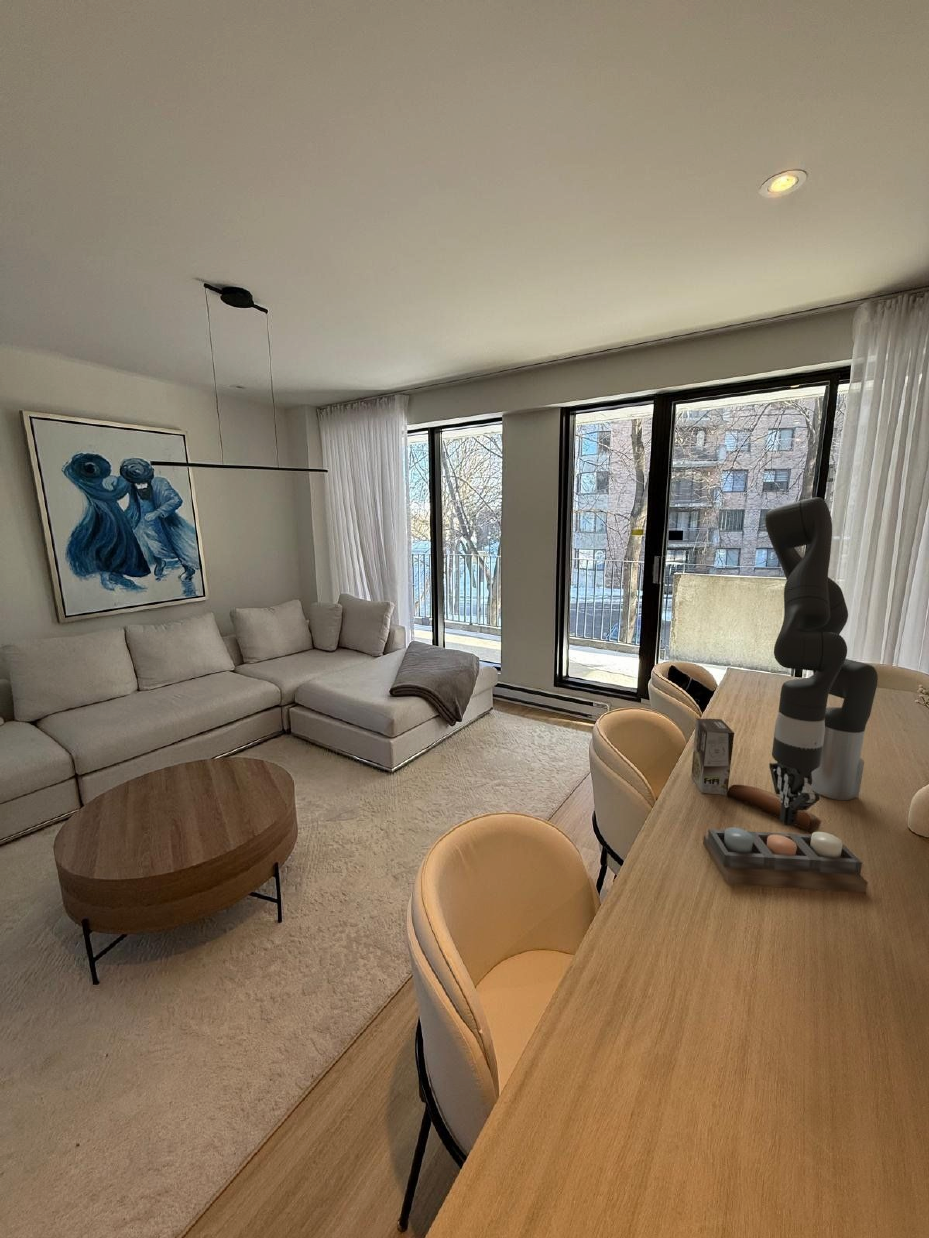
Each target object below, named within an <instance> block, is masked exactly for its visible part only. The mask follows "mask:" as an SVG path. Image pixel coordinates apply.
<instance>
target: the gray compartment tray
mask: <svg viewBox="0 0 929 1238" xmlns="http://www.w3.org/2000/svg"><path fill="white" fill-rule="evenodd" d="M725 830H726V829H708V832H707V833H708V834H703V837H702V843H703V846H704V847H705V849H706V851H707V853H708V854H709V856H710V858H711V859H712V861H713V863H714V865H715V866H716V868H717V869H718V871H719V873H720V874H721V876H722V878H723V879H724V881H725V884H726V885H738V886H739V885H740V886H741V885H742V886H754V887H769V888H771V887H772V888H773V887H775V888H786V889H787V888H791V889H804V890H805V889H806V890H807V889H808V890H820V891H821V890H825V891H837V892H838V891H840V892H842V891H843V892H857V893H867V890H868V889H867V888H868V884H869V883H868V881H867V880H866V879H865V878H864V877H863V876H862V875H861V872H862V865H863V862H862V861H861V860H860V859H859V858H858V857H857V855H855V854H854V852H852V851H851V850H850V849H849V848H848V847H847V846H846V845H845V844H844V843H843V845H842V851H841V857H840V858H831V857H818V856H817V855H816V854H815V853H814V851H813V850H812V849H811V848H810V843H811V836H812V834H809V833H789V832H788V833H786V832H769V831H768V832H766V831H750V830H749V831H747V830H746V831H747V832H749V833H750V834H751V835H752V836H753V845H752V853H738V852H728V851H727V849H726V848H725V846H724V836H725ZM770 835H781V836H784V837H787V838H789V839H791V840H792V841H794V842H795V843H796V845H797V849H796V856H794V855H775V854H772V852H771V851H770V850H769V849H768V847H767V838H768V836H770ZM834 836H835V837H837V836H836V835H834Z"/></svg>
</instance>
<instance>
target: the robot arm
mask: <svg viewBox="0 0 929 1238" xmlns="http://www.w3.org/2000/svg"><path fill="white" fill-rule="evenodd" d="M831 515H832V514H831V511H830V508H829V506H828V504H827V502H826V501H825V499H823V498H822V497H819V496H818V497H810V498H805V499H801V500H799V501H795V502H790V503H787V504H783V505H780V506H777V507H773V508H771V509H769V510H768V511H766V514H765V517H764V519H765V521H764V522H765V528H766V532H767V535H768V538H769V541H770V543H771V545H772V548H773V551H774V553H775V554H776V557H777V559H778V562H779V564H780V566H781V568H782V571H783V574H784V577H785V579H786V582H785V584H784V587H783V588H784V589H783V605H784V606H783V608H784V610H783V611H784V614H783V615H784V616H783V622H782V626H781V628H780V630H779V633H778V636H777V638H776V640H775V644H774V647H773V656H774V659H775V661H776V662H777V663H778V664H779V665H780V666H781V667H782V668H786V669H789V670H790V669H792V670H803V671H811V672H812V673H813V674H812V675H811V676H809V677H806V678H798V679H790V680H786V681H785V682H783V683H782V684H781V685H782V686H781V688H780V697H779V704H778V711H777V712H778V713H777V716H776V720H775V725H774V733H773V741H772V751H771V756H772V758H773V760H774V761H775V762H769V764H768V765H769V771H770V775H771V779H772V783H773V784H772V785H773V789H774V794H776V795H779V796H780V797H779V799H780V802H781V803H782V805H781V813H780V818H779V820H780V821H781V823H782V824H783V825H784V826H796V821H797V813H798V810H806V811H808V810H809V809H810V808H811V807H813V805H815V804H816V803H818V801H819V802H820V800H821V797H820V796H822V797H825V798H829V799H831V800H837V801H850V800H851V801H852V799H854V798H856V799H857V798H858V799H859V797H860V792H861V785H862V778H863V774H864V766H865V761H864V759H862V758H861V757H862V750H863V745H864V739H865V731H866V727H867V723H868V721H869V719H870V718H871V714H872V709H873V705H874V700H875V697H876V691H877V687H878V683H879V681H878V680H879V679H878V678H879V677H878V672H877V670H876V668H875V667H874V666H872V665H871V664H868V663H863V662H862V661H861V662H860V661H857V660H852V659H849V658H847V655H848V646H847V645H848V644H847V642H846V640H845V638H844V637H843V636H842V635H841V633H842V632H843V629H844V628H845V627H846V625H847V622H848V618H849V611H848V607H847V604H846V600H845V597H844V594H843V590H842V588H841V587H840V585H838V584H837V582H835V581H834V580H833V579H832V578H830V577H829V567H830V562H831V561H830V560H831V553H832V552H831V551H832V540H833V520H832V516H831ZM808 545H809V547H808V549H807V550H806V551H805V554H804V555H803V557H802V556H801V555H800V553H799V552H798V551H797V549H796V548H800V547H804V546H808ZM829 695H831V696H834V697H837V698H840V699H843V702H842V705H841V707H839V706H838V707H836V706H835V707H833V706H832V707H830V706H829V707H828V706H827V705H828V700H829Z"/></svg>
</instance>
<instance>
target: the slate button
mask: <svg viewBox="0 0 929 1238" xmlns="http://www.w3.org/2000/svg"><path fill="white" fill-rule="evenodd" d="M724 830H725V836H724V846H725V848H726V849H727V851H728V852H738V853H752V845H753V836H752V835H751V834H750V833H749V832H747V830H745V829H742V828H738V827H728V828H726V829H724Z"/></svg>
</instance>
